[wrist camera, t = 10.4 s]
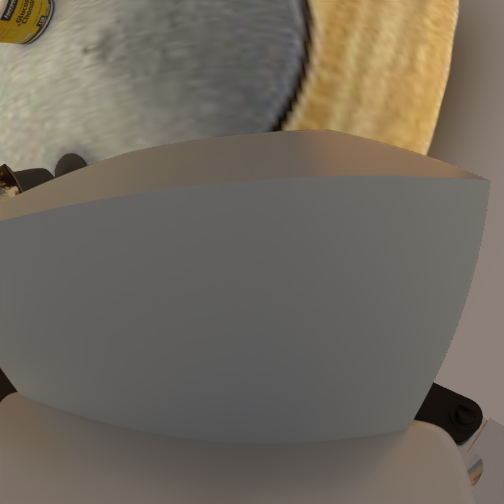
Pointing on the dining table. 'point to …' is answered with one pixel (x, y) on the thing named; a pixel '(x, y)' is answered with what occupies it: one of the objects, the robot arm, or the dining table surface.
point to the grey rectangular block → (240, 286)
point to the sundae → (34, 176)
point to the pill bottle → (23, 19)
